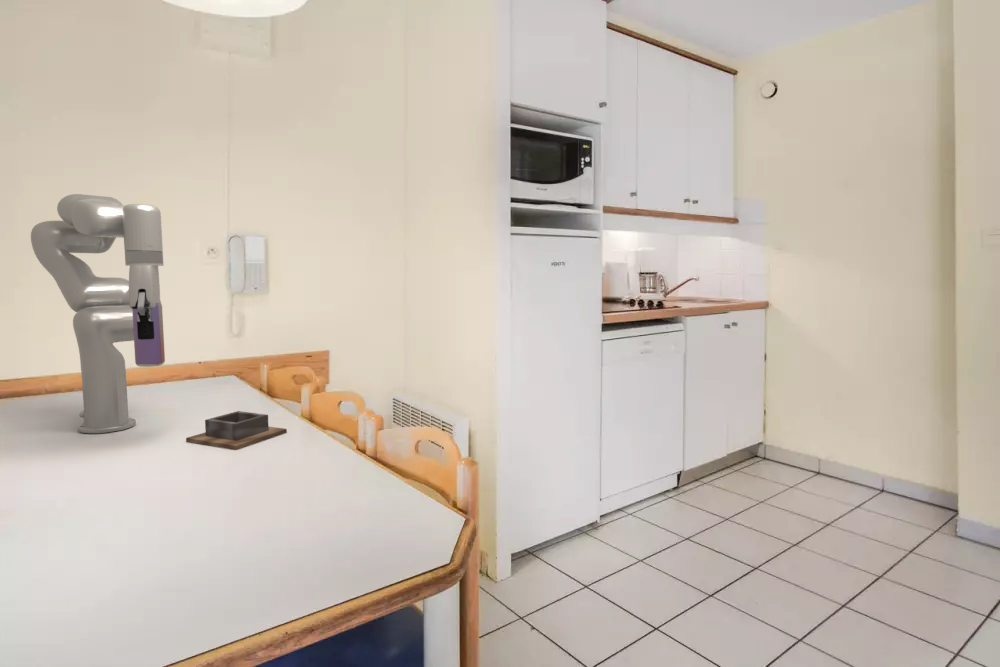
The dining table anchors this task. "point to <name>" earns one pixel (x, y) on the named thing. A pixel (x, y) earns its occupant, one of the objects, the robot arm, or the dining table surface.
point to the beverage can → (150, 340)
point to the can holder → (236, 430)
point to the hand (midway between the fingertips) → (148, 336)
